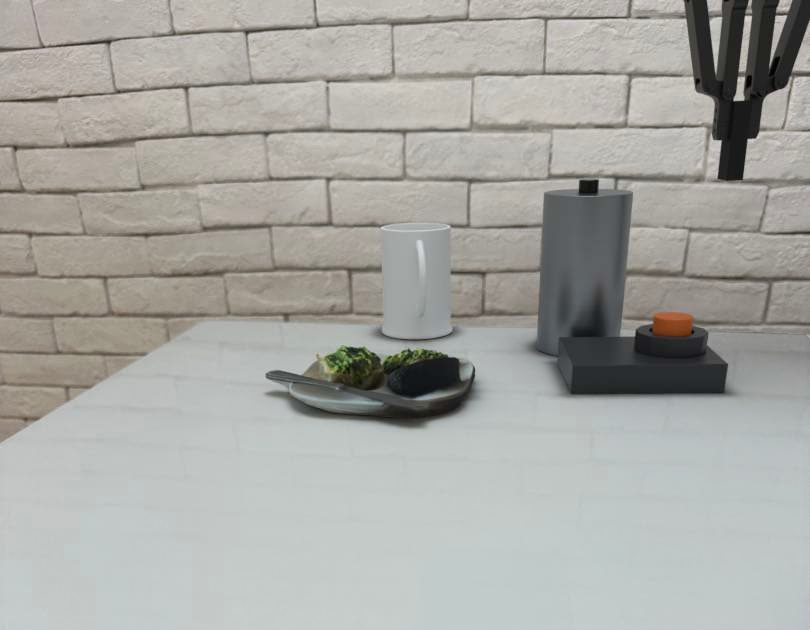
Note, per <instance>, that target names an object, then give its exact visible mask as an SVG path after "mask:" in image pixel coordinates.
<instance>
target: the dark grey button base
mask: <svg viewBox="0 0 810 630" xmlns="http://www.w3.org/2000/svg"><path fill="white" fill-rule="evenodd" d="M652 329H653V323H650V324H644V325H640V326H639V327H637V328H636V329H635V333H634V336H620V337H559V340H558V356H556V359H557V360H556V364H557V366H558V368H559V370H560V372H561V375H562V377H563V380H564V381H565V384H566V386H567V388H568V391H569V393H570V394H571V395H581V394H583V395H584V394H587V395H594V394H595V395H596V394H598V395H599V394H600V395H601V394H602V395H603V394H605V395H606V394H608V395H609V394H714V393H715V394H718V393H719V394H721V393H722V394H724V393H725V390H726V389H725V388H726V383H727V382H726V381H727V375H728V371H729V370H728V369H729V363H728V362H727V361H726V360H724V358H722V357H721V356H720V355H719V354H718V353H716V351H714V349H712V348H711V347H710V346H709V345H708V341H709V340H708V339H709V334H710V333H709V331H707V329H705V328H703V327H700V326H696V325H692V332H691V335H685V336H668V335H659V334H655V333H652Z"/></svg>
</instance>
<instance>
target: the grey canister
mask: <svg viewBox="0 0 810 630" xmlns="http://www.w3.org/2000/svg"><path fill="white" fill-rule="evenodd" d="M599 187H600V179H598V178H581V179H579V180H578V188H568V189H554V190H547V191H544V192H543V203H542V222H541V223H542V225H541V243H540V244H541V245H540V265H539V284H538V285H539V286H538V305H537V306H538V307H537V327H536V329H537V330H536V349H537V350H538V351H540V352H541V353H544V354H546V355H547V354H548V355H550V356H556V357H558V340H559V337H621V335H622V334H621V333H622V323H623V322H622V321H623V311H624V301H625V291H626V290H625V289H626V288H625V287H626V278H627V267H628V255H629V246H630V245H629V244H630V234H631V223H632V213H633V212H632V211H633V200H634V191H632V190H629V189H628V190H627V189H618V188H617V189H616V188H599Z"/></svg>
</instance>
